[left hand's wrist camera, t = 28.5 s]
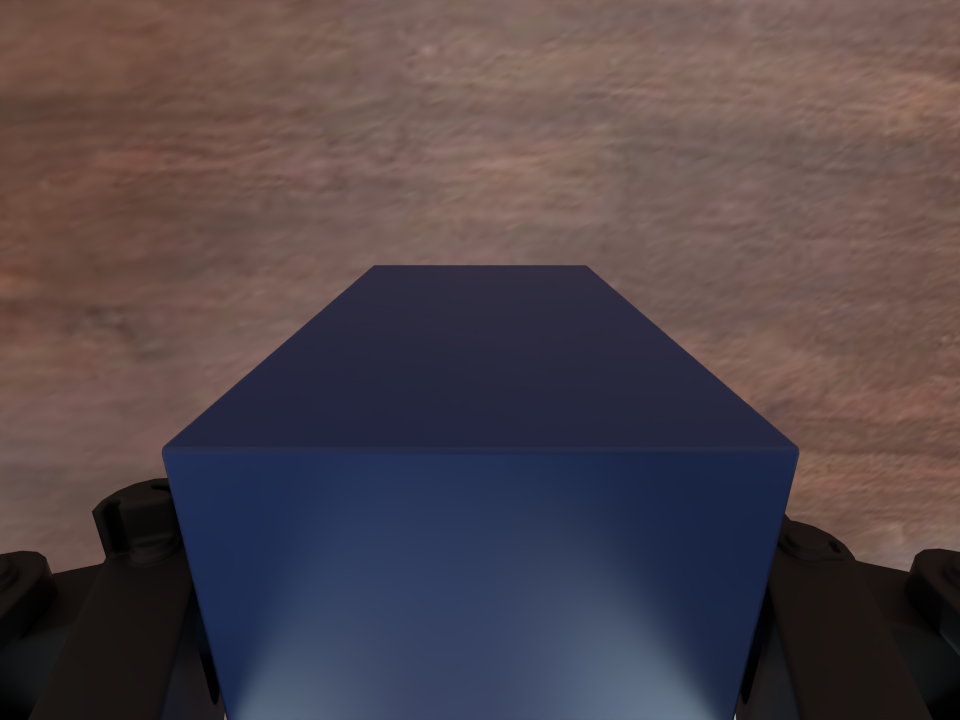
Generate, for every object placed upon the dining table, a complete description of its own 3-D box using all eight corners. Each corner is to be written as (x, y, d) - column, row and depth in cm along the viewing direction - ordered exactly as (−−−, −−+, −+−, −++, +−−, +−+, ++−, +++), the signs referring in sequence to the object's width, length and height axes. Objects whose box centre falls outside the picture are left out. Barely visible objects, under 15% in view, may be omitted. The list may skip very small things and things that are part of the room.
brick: (372, 264, 16) (156, 448, 5) (587, 265, 16) (804, 448, 5) (387, 464, 18) (259, 863, 8) (572, 464, 18) (700, 863, 8)
